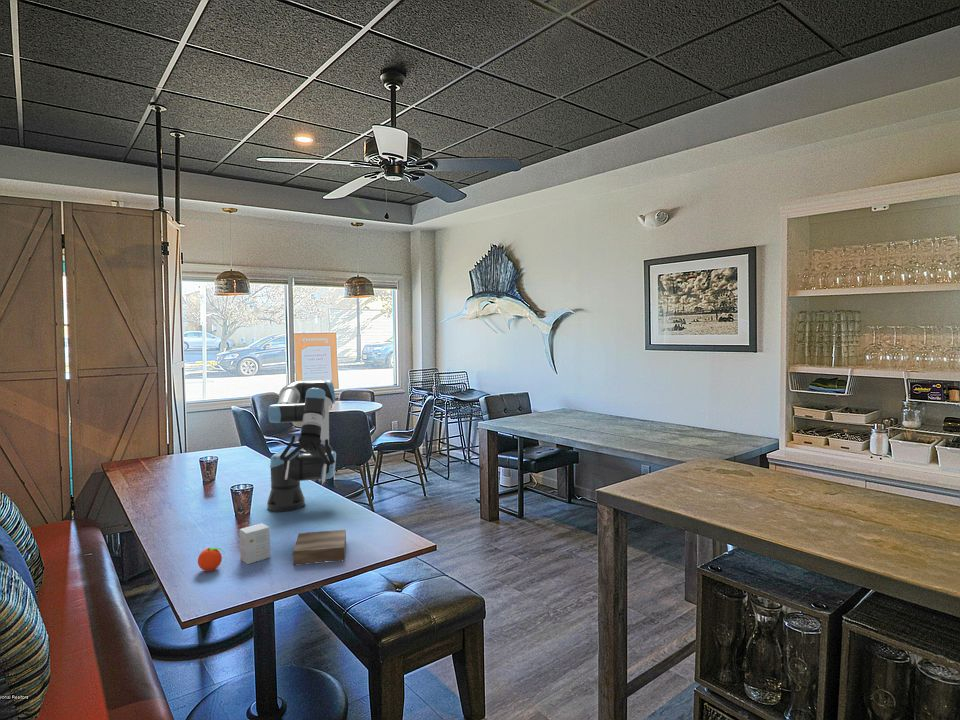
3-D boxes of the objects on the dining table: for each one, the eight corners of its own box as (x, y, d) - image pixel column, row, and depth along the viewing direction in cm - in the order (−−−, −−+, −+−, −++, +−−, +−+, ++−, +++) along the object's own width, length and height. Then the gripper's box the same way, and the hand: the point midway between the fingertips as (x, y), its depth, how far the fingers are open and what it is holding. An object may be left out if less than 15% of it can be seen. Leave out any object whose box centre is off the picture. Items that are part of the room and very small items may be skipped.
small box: (263, 552, 195) (262, 522, 194) (270, 557, 191) (269, 526, 190) (239, 559, 189) (238, 528, 188) (246, 564, 185) (245, 533, 184)
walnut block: (298, 547, 200) (298, 533, 200) (345, 543, 204) (345, 529, 203) (293, 566, 185) (293, 551, 184) (344, 562, 188) (344, 547, 188)
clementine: (224, 563, 187) (224, 541, 186) (226, 571, 181) (225, 549, 180) (197, 568, 183) (196, 546, 182) (198, 576, 177) (197, 554, 176)
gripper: (279, 419, 217) (270, 475, 207) (345, 427, 225) (340, 480, 216) (277, 425, 223) (269, 479, 214) (342, 432, 231) (336, 485, 222)
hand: (304, 480), depth 215 cm, fingers open, 13 cm apart
